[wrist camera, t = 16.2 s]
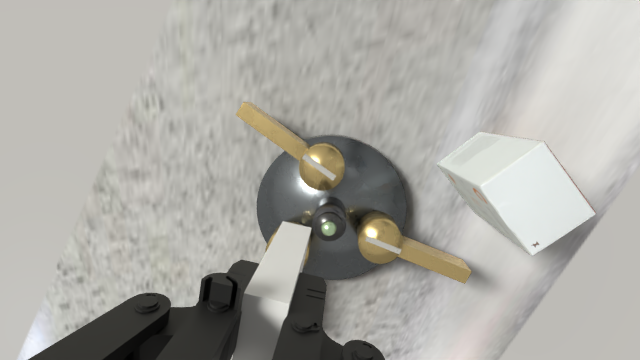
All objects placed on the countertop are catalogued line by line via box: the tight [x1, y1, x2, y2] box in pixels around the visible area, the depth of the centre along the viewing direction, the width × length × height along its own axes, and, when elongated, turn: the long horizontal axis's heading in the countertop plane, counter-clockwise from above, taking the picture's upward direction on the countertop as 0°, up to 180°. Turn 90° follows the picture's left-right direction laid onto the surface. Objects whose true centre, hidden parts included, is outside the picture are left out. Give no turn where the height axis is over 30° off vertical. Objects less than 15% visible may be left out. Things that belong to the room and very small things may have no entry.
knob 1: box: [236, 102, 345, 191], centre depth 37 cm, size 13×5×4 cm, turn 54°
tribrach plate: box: [257, 135, 406, 280], centre depth 38 cm, size 18×18×9 cm
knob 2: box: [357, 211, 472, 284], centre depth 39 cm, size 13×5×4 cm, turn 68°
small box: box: [437, 132, 596, 256], centre depth 34 cm, size 8×6×13 cm
